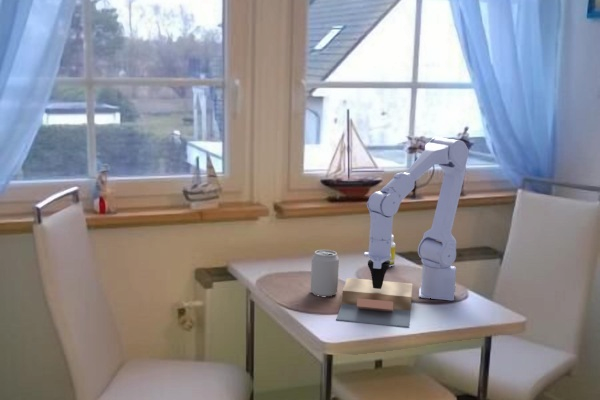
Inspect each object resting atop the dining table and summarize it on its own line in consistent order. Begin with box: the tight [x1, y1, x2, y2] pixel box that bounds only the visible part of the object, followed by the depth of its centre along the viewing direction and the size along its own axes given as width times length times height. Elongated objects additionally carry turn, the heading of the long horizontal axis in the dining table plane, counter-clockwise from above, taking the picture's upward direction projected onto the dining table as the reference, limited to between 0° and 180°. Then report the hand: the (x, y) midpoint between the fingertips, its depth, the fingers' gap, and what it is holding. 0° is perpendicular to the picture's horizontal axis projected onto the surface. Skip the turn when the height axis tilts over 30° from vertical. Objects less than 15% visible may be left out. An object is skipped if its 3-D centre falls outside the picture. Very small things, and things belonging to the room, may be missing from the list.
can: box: [309, 249, 340, 297], centre depth 200 cm, size 8×8×12 cm
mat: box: [335, 303, 411, 328], centre depth 185 cm, size 18×12×1 cm, turn 80°
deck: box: [341, 277, 413, 311], centre depth 197 cm, size 18×12×4 cm, turn 80°
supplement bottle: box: [388, 234, 396, 268], centre depth 232 cm, size 5×5×10 cm
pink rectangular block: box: [357, 298, 394, 312], centre depth 186 cm, size 9×6×2 cm, turn 80°
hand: (377, 287), depth 192 cm, fingers closed
